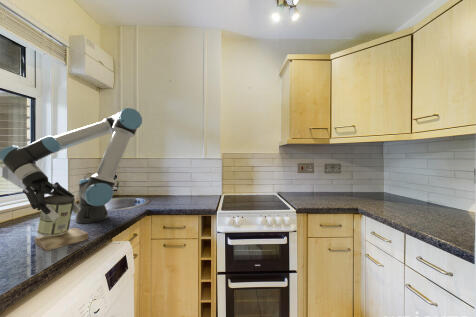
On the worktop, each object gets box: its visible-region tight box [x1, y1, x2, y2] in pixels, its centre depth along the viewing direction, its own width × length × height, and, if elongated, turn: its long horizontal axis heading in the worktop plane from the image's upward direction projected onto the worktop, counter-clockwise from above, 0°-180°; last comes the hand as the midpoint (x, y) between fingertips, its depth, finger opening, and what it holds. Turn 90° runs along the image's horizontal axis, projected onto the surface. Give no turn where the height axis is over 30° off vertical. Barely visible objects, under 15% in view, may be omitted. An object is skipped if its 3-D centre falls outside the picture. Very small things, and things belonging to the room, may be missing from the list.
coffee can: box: [37, 195, 76, 236], centre depth 90 cm, size 10×10×14 cm
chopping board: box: [34, 227, 89, 252], centre depth 90 cm, size 14×13×2 cm
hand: (68, 214), depth 90 cm, fingers closed on coffee can, 10 cm apart
